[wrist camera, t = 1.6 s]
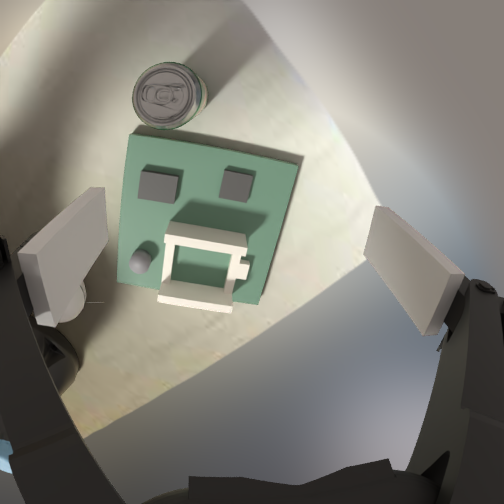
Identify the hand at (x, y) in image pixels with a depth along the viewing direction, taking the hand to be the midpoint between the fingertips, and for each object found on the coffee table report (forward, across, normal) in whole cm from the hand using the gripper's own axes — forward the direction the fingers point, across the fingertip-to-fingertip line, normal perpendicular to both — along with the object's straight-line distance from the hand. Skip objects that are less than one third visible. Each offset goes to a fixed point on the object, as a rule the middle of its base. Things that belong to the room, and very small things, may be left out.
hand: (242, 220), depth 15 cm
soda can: (+21, -5, +5) cm, 22 cm away
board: (+20, -3, -9) cm, 22 cm away
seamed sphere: (+20, -19, -18) cm, 33 cm away
